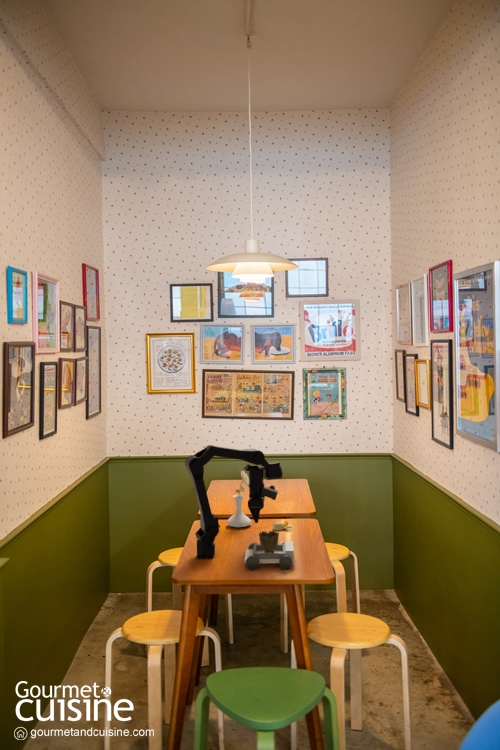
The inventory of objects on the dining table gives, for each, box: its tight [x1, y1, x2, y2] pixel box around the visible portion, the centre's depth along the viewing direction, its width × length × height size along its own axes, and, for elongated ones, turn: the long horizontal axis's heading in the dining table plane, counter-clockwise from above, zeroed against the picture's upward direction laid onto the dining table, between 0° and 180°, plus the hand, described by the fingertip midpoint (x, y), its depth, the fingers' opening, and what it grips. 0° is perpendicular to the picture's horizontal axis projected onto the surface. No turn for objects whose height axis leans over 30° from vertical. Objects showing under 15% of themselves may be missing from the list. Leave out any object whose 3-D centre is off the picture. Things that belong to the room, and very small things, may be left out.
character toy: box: [272, 521, 293, 531], centre depth 295 cm, size 8×3×8 cm
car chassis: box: [244, 541, 295, 571], centre depth 248 cm, size 18×18×6 cm
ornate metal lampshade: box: [258, 530, 280, 553], centre depth 248 cm, size 8×7×8 cm
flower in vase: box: [226, 470, 252, 528], centre depth 302 cm, size 13×11×25 cm
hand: (257, 520), depth 264 cm, fingers open, 9 cm apart
